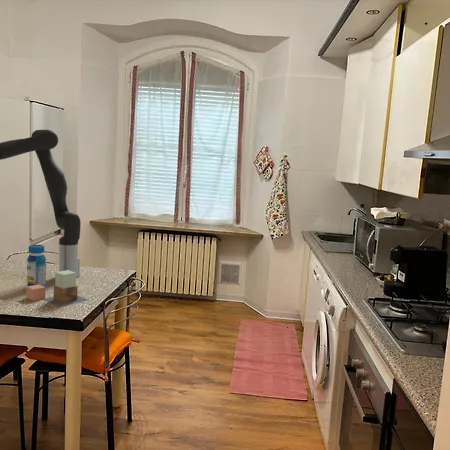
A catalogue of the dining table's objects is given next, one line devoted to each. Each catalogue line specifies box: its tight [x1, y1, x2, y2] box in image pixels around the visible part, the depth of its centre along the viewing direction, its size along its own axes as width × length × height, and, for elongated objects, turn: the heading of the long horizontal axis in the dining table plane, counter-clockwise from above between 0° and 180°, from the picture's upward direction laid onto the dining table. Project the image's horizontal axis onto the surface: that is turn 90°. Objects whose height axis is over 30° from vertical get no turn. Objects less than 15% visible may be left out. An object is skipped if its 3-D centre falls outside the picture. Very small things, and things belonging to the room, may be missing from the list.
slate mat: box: [41, 295, 89, 308], centre depth 200 cm, size 14×14×1 cm
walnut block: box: [53, 285, 78, 303], centre depth 199 cm, size 7×7×6 cm
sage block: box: [54, 270, 77, 289], centre depth 198 cm, size 6×6×6 cm
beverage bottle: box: [26, 244, 47, 288], centre depth 214 cm, size 8×8×20 cm
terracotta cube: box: [25, 285, 46, 302], centre depth 199 cm, size 6×6×6 cm
